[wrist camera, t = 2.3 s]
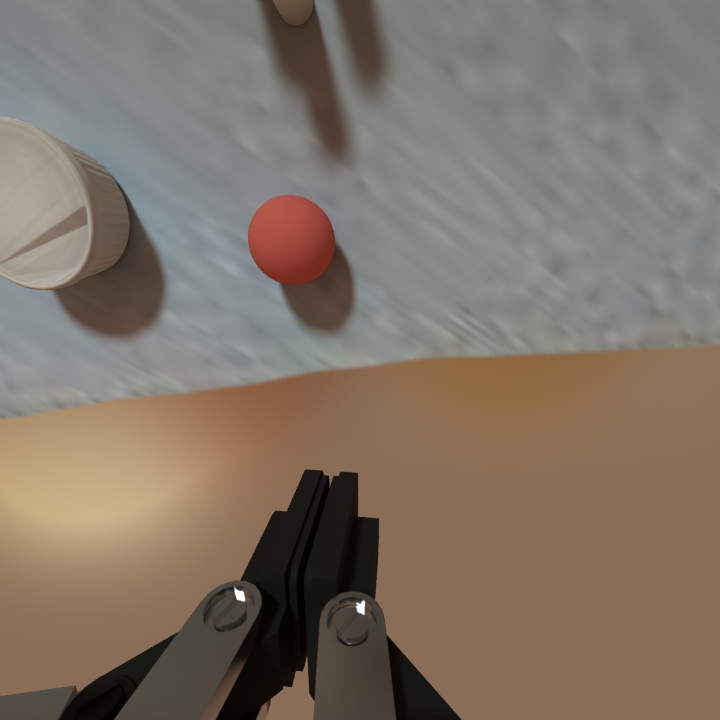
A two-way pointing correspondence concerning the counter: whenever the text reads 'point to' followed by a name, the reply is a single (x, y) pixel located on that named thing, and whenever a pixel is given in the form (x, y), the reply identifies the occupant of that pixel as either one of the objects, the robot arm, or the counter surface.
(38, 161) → the ramekin
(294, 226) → the ball
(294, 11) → the pin
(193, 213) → the counter surface
